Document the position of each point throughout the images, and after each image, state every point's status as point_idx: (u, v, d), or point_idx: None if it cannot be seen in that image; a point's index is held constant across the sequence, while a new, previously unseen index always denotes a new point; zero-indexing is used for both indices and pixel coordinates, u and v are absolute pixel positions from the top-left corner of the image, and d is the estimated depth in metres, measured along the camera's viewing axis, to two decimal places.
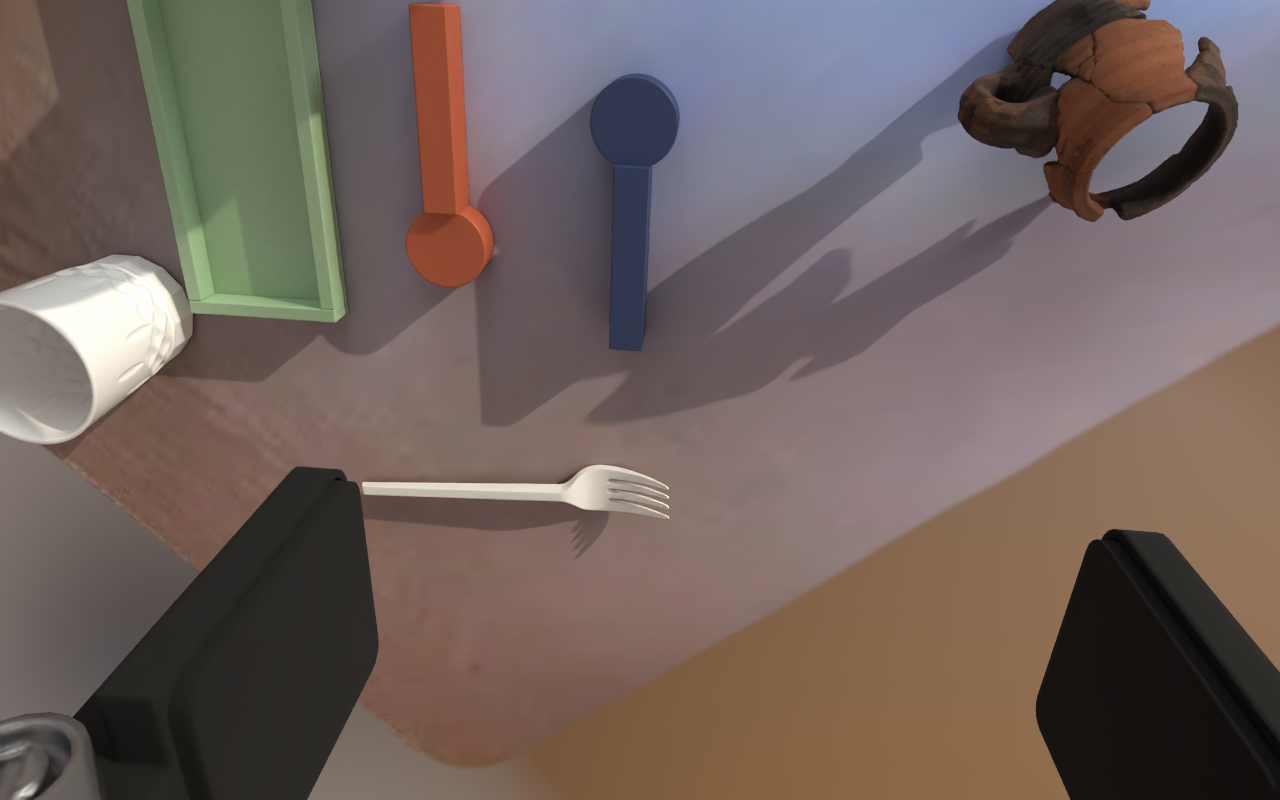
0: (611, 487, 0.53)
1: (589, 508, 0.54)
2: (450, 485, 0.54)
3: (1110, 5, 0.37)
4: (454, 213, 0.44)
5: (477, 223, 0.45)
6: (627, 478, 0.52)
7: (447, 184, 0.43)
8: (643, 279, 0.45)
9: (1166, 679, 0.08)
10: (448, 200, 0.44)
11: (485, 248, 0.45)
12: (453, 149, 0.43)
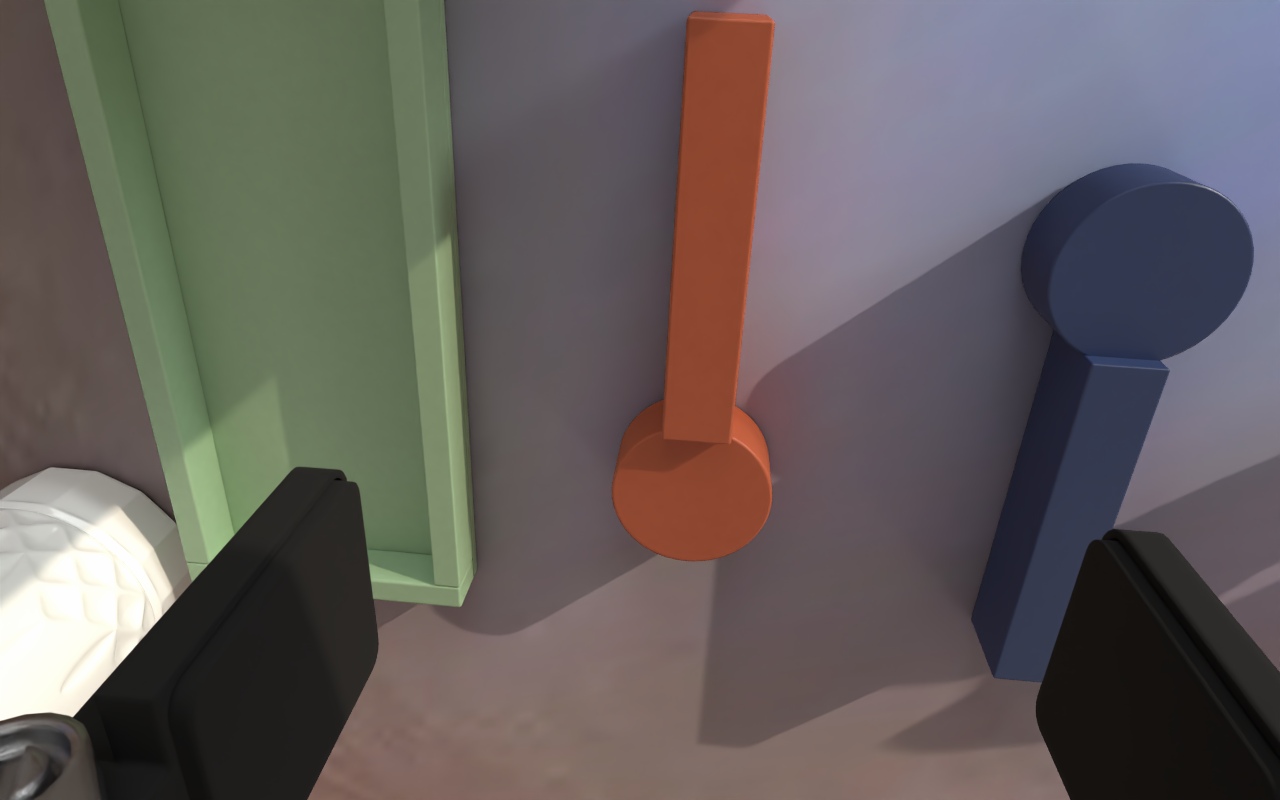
0: None
1: None
2: None
3: None
4: (726, 442, 0.22)
5: (759, 450, 0.23)
6: None
7: (719, 389, 0.21)
8: None
9: (1166, 679, 0.08)
10: (717, 418, 0.21)
11: (771, 498, 0.23)
12: (742, 323, 0.20)
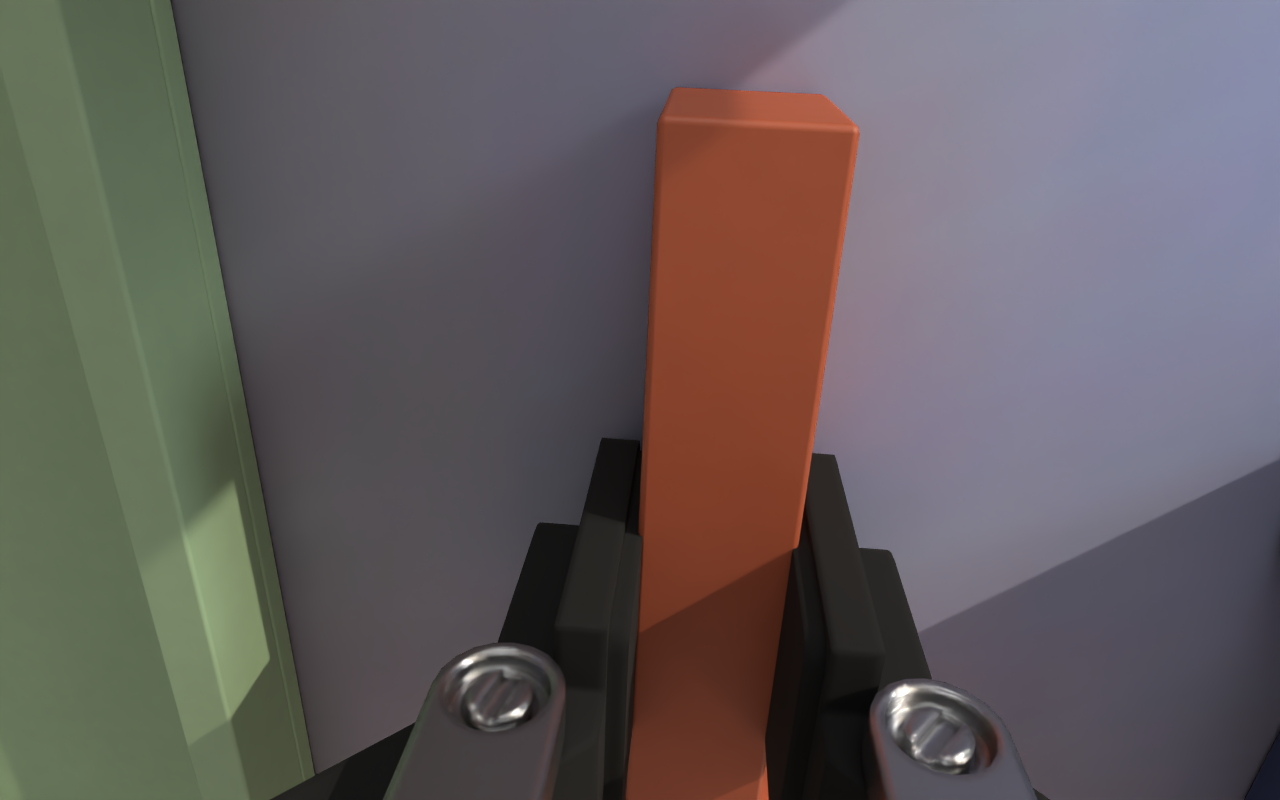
0: None
1: None
2: None
3: None
4: None
5: None
6: None
7: (731, 788, 0.11)
8: None
9: None
10: None
11: None
12: None
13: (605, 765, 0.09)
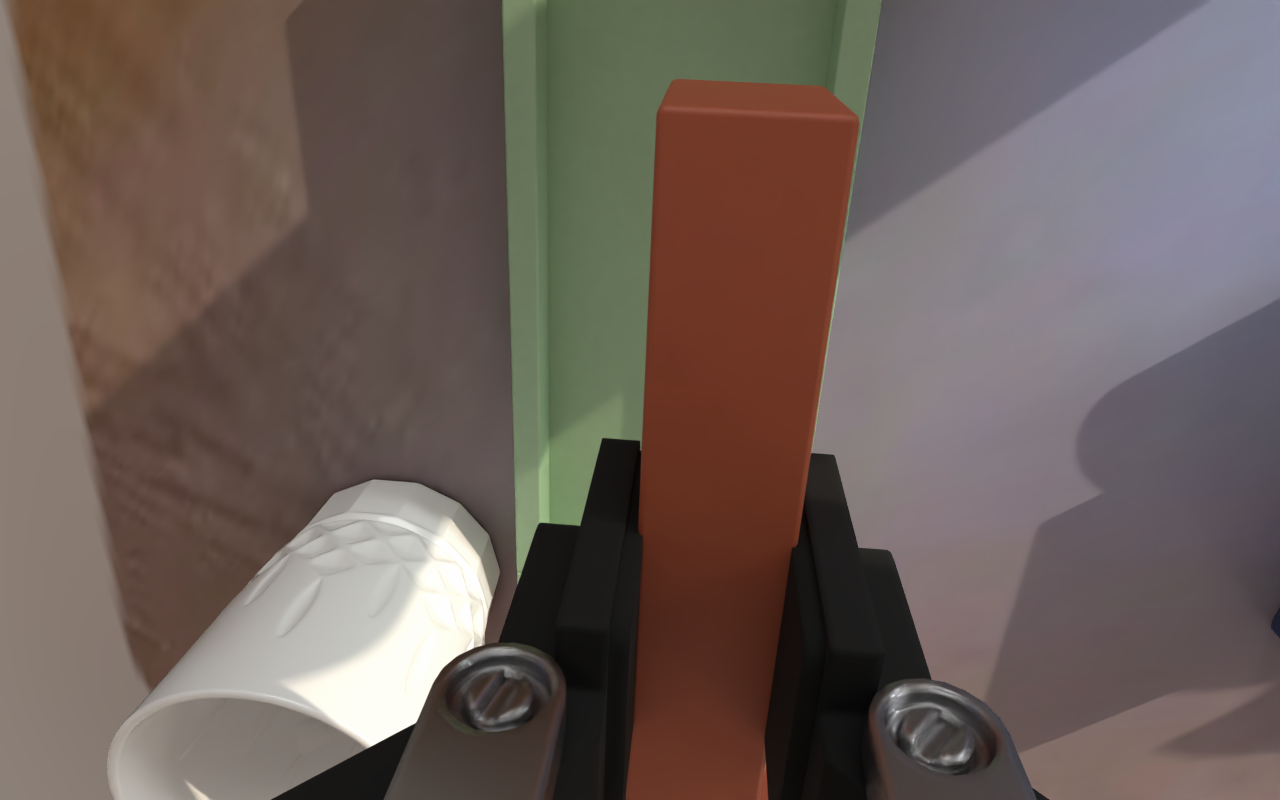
0: None
1: None
2: None
3: None
4: None
5: None
6: None
7: (731, 782, 0.11)
8: None
9: None
10: None
11: None
12: None
13: (606, 765, 0.09)
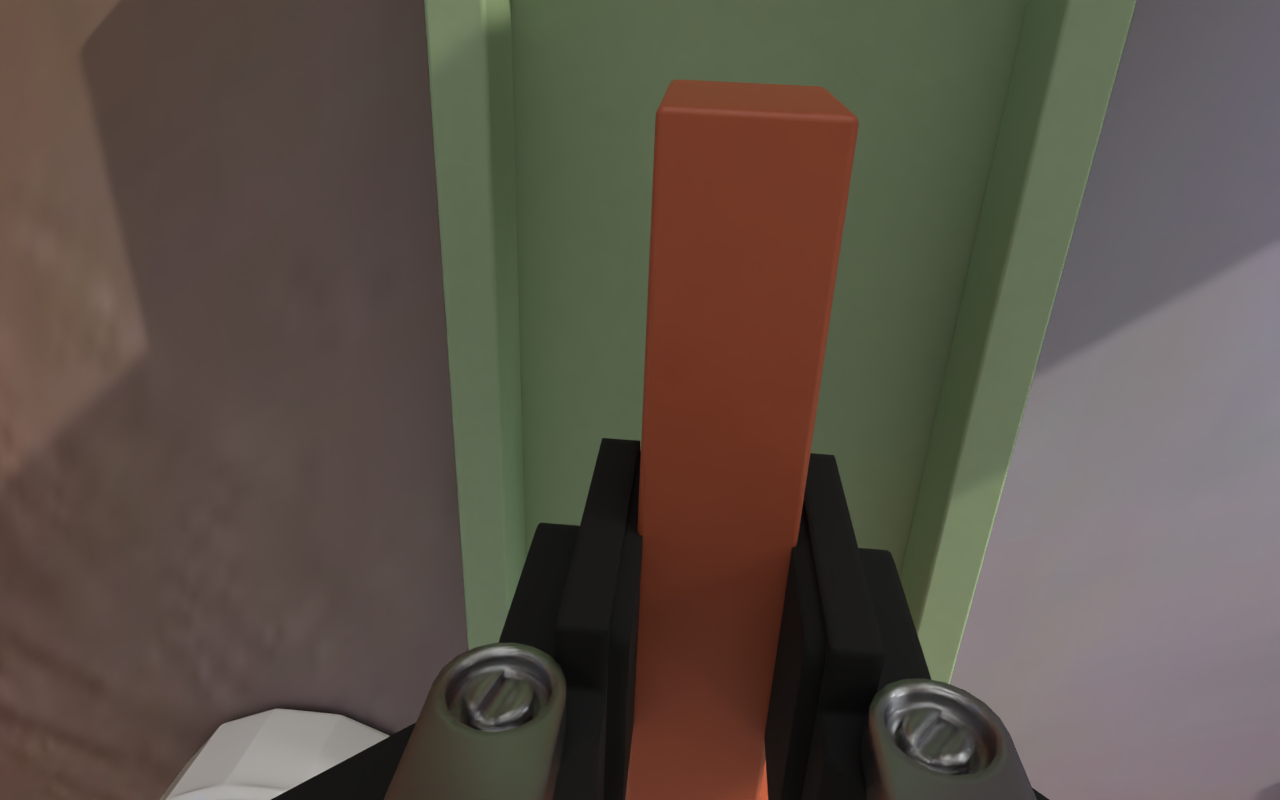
0: None
1: None
2: None
3: None
4: None
5: None
6: None
7: (731, 782, 0.11)
8: None
9: None
10: None
11: None
12: None
13: (606, 765, 0.09)
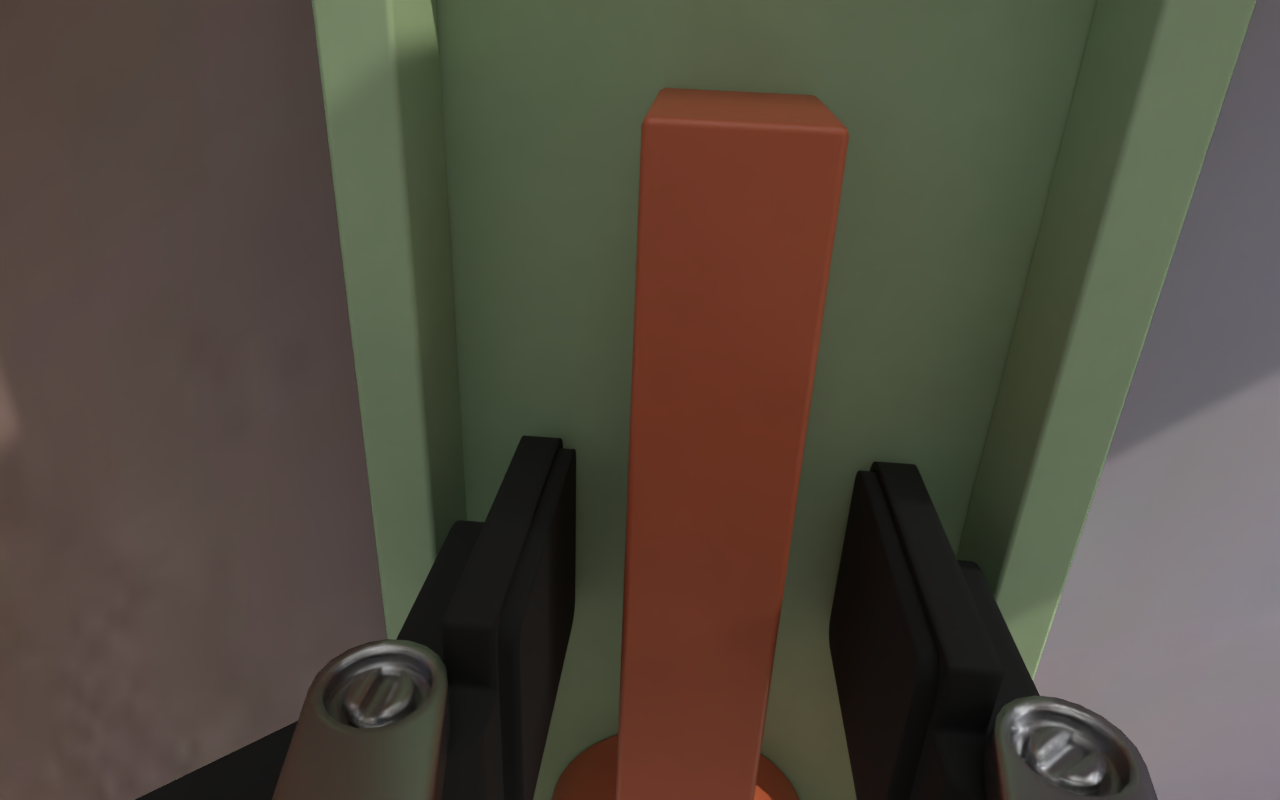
0: None
1: None
2: None
3: None
4: None
5: None
6: None
7: None
8: None
9: (880, 581, 0.09)
10: None
11: None
12: (766, 700, 0.10)
13: (504, 763, 0.09)
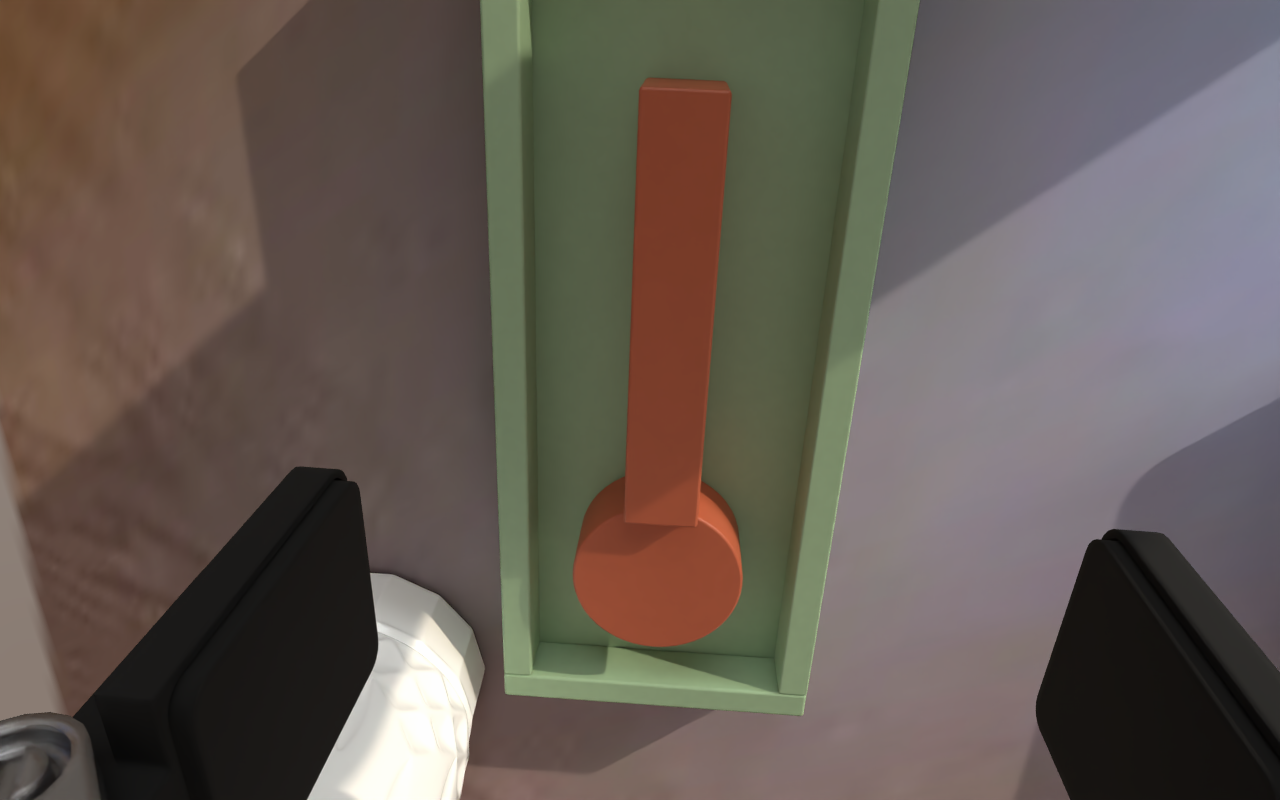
0: None
1: None
2: None
3: None
4: (691, 525, 0.20)
5: (727, 530, 0.21)
6: None
7: (684, 470, 0.20)
8: None
9: (1166, 679, 0.08)
10: (681, 500, 0.20)
11: (742, 580, 0.22)
12: (706, 402, 0.19)
13: None
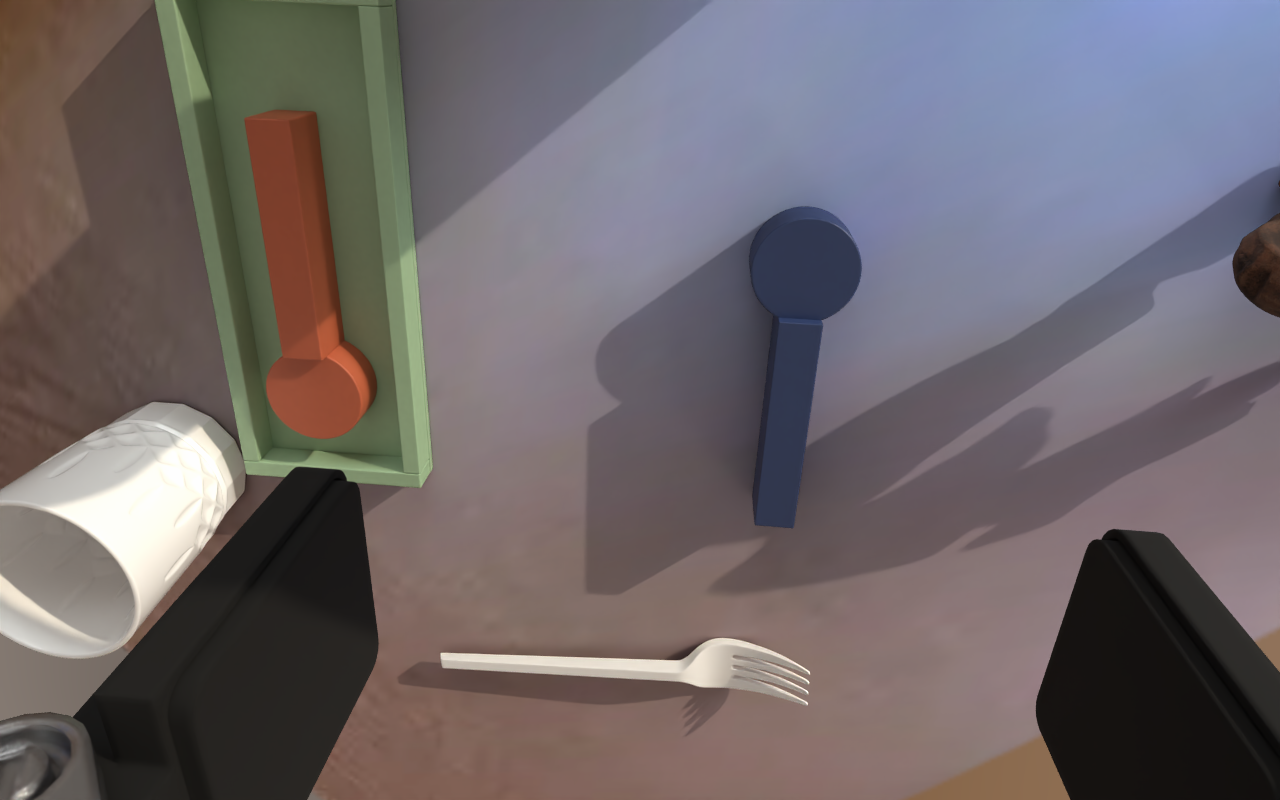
0: (736, 664, 0.45)
1: (708, 686, 0.46)
2: (544, 659, 0.46)
3: None
4: (319, 359, 0.36)
5: (351, 366, 0.37)
6: (757, 656, 0.44)
7: (308, 326, 0.36)
8: (803, 449, 0.37)
9: (1166, 679, 0.08)
10: (310, 344, 0.36)
11: (361, 396, 0.38)
12: (311, 286, 0.35)
13: None
